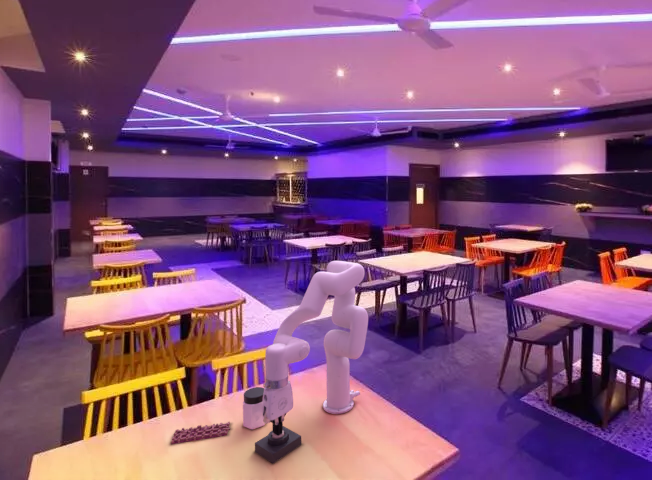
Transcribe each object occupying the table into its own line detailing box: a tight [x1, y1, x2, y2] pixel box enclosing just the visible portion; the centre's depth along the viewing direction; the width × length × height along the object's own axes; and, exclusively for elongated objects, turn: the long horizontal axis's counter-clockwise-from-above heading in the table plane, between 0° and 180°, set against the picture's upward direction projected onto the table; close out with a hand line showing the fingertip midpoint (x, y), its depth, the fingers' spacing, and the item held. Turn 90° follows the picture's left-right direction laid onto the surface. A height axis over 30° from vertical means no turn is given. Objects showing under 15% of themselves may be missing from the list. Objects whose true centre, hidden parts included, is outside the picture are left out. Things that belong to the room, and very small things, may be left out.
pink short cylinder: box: [272, 430, 284, 439], centre depth 138 cm, size 4×4×2 cm
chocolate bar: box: [171, 421, 232, 445], centre depth 147 cm, size 7×19×2 cm, turn 105°
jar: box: [242, 386, 266, 430], centre depth 153 cm, size 9×8×12 cm
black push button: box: [254, 425, 302, 464], centre depth 138 cm, size 12×10×5 cm
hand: (277, 433), depth 138 cm, fingers closed
